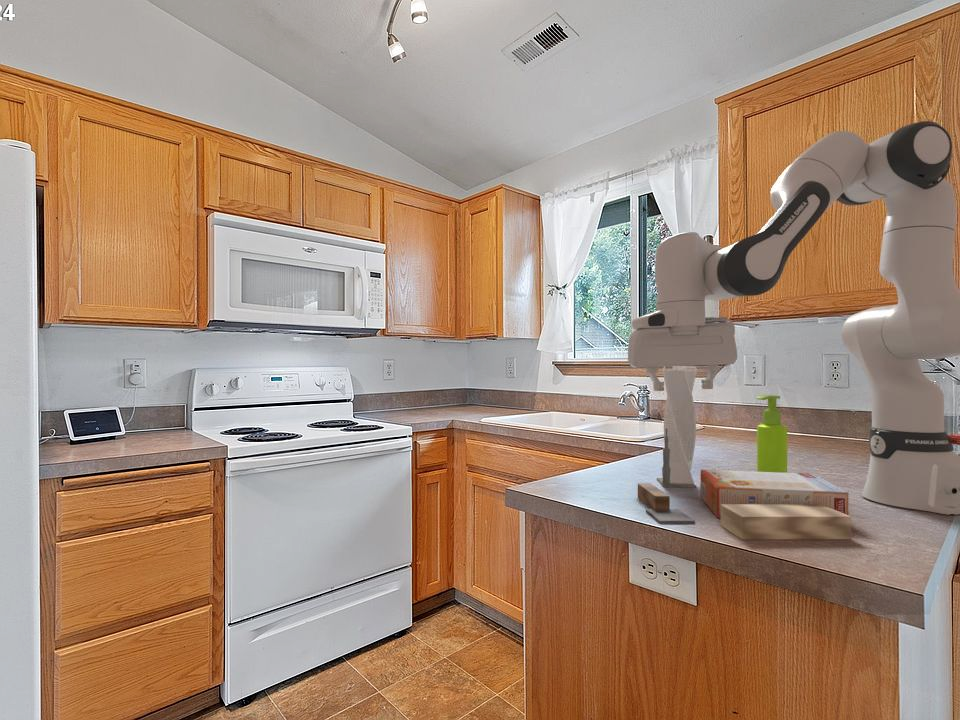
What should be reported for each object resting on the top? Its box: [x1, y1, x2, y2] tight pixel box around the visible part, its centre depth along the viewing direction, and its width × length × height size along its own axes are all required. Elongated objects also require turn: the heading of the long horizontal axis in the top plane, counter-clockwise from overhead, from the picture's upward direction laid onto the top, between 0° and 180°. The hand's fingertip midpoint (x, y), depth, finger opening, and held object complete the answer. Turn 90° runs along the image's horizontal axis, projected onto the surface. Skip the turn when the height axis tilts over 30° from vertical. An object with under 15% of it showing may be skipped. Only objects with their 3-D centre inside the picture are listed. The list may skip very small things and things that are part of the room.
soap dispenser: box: [755, 394, 788, 473], centre depth 116 cm, size 6×7×20 cm
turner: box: [637, 482, 696, 525], centre depth 97 cm, size 17×6×3 cm, turn 1°
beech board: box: [720, 504, 852, 540], centre depth 84 cm, size 17×7×4 cm, turn 91°
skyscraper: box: [656, 366, 698, 489], centre depth 118 cm, size 8×8×28 cm
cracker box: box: [699, 469, 850, 519], centre depth 96 cm, size 14×6×21 cm
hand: (683, 389), depth 101 cm, fingers open, 8 cm apart
